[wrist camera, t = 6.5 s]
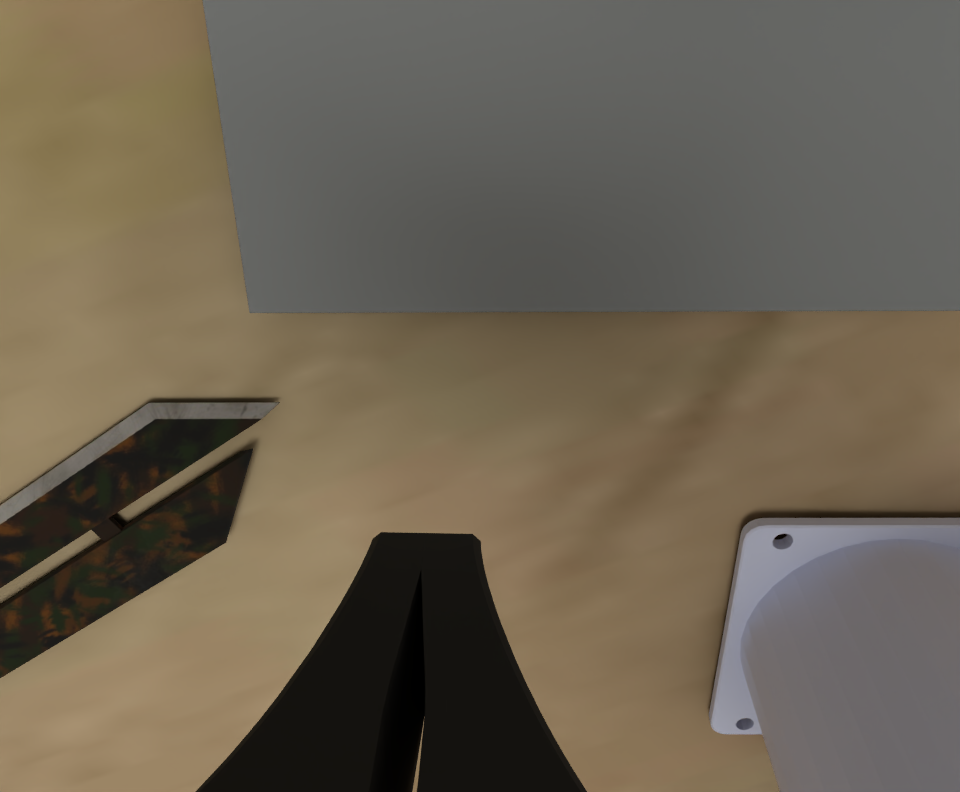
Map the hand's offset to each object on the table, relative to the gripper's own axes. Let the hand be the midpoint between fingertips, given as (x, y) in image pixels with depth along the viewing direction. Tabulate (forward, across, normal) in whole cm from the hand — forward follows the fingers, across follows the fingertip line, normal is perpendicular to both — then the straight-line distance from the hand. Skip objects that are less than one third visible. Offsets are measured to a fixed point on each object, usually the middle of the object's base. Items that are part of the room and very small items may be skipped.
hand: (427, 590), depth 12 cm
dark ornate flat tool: (+10, +15, +11) cm, 21 cm away
